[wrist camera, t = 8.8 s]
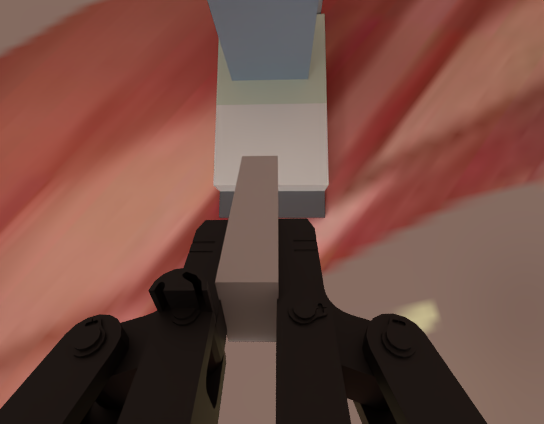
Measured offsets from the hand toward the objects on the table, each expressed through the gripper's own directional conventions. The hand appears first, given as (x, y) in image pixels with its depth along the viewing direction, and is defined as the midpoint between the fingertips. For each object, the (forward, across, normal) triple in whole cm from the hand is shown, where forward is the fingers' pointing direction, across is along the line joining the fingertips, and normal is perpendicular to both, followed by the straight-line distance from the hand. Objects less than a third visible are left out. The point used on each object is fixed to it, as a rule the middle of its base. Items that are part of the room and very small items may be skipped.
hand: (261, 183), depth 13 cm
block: (+20, 0, +2) cm, 20 cm away
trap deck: (+18, 0, -3) cm, 19 cm away
